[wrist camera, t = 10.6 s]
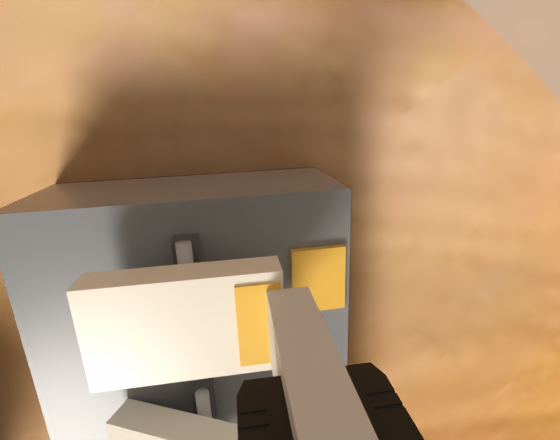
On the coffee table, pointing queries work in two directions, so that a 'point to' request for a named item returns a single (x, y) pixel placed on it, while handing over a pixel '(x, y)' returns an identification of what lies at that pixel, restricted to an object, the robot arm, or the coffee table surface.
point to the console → (160, 252)
